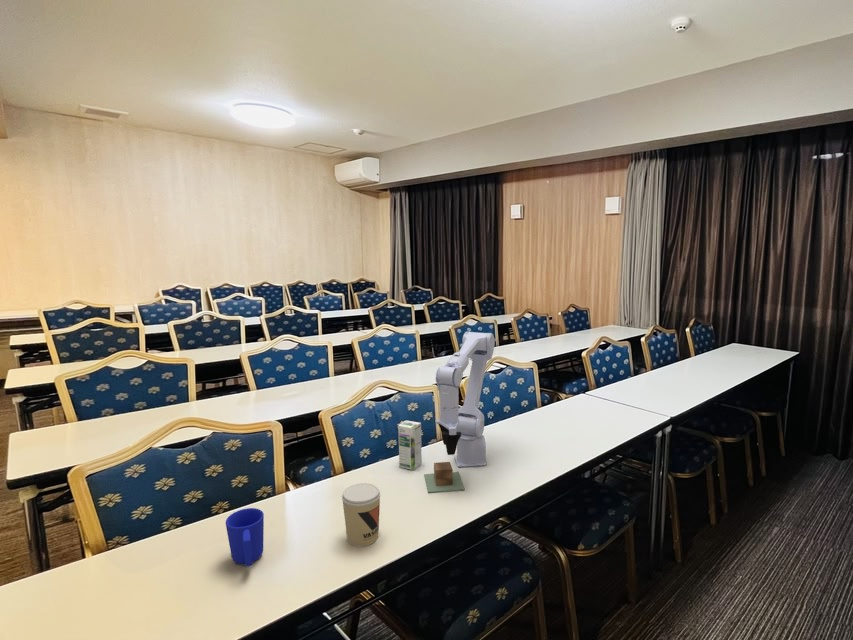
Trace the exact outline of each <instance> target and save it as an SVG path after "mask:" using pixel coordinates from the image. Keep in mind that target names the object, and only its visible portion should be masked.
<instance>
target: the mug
mask: <svg viewBox="0 0 853 640" xmlns="http://www.w3.org/2000/svg"><path fill="white" fill-rule="evenodd" d="M264 517H265V514H264V511H262V509H259V508H255V507H248V508H244V509H243V508H242V509H239V510H237V511H234V512H232V513H231V514H230V515H229V516H228V517H227V518H226V520H225V528H226V534H227V538H228V543H229V544H228V545H229V549H230V550H229V551H230V555H231V558H232V561H233V562H234V563H235V564H238V565H245V567H250V566H253V565H252V564H253V563H254V562H256V561H257V560H259V559H260V558H261V556H262V554H263V552H264V535H265V533H264V528H265V527H264V526H265V525H264V523H265V521H264V519H265V518H264Z"/></svg>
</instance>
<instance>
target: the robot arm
mask: <svg viewBox="0 0 853 640" xmlns="http://www.w3.org/2000/svg"><path fill="white" fill-rule="evenodd" d="M495 342H496V341H495V337H494V334H493V333H492V332H487V333H486V332H474V331H465V332H464V334H463V336H462V346H461V348H460V349H459V351H457V352H454V353H453V354H452V355H451V356H450V358H449V359H448V360H447V362H446V363H445V364H444V365H441V366H440V367H438V368H437V370H436V373H435V383H436V385H437V391H438V395H439V397H438V399H439V401H438V403H439V405H438V406H439V418H437V419H435V424H438V426H439V428H440V433H441V438H442V442H443V445H445V448H446V453H447V455H448V456H454V457H453V458H454V461H455V463H456V465H457V467H458V468H464V467H465V468H468V467H478V466H479V467H481V466H487V445H486V444H487V443H486V438H485V437H486V436H485V435H484V431H485V415H484V413H483V412H482V411H481V410H480V409H479V404H480V399H481V394H482V388H483V385H484V384H483V383H484V378H485V372H486V369H487V363H488V361H490V360H491V359H492V357H493V355H494V350H495V345H496V344H495ZM469 359H470V360H471V365H470V364H469V363H470V360H469ZM469 365H470V367H471V368H470V371H469V377H468V382H467V387H466V392H465V396H464V402H463V405H462V406H460V407H459V386H460V385H461V384H462V378H463V377H464V372H465V370H466V369H467V368H468V366H469ZM455 453H456V454H455Z"/></svg>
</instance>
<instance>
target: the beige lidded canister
mask: <svg viewBox="0 0 853 640" xmlns="http://www.w3.org/2000/svg"><path fill="white" fill-rule="evenodd" d="M380 498H381V491H380V489H379V487H377V485H375V484H372V483H367V482H359V483H355V484H351V485H349V486H348V487H346V488H345V489H344V490H343V492H342V494H341V500H342V507H343V515H344V522H345V523H344V525H345V530H346V538H347V542H348V543H349V544H351V545H352V546H355V547H366V546H369V545H372V544H374V543H375V542H376V541H377V539H378V538H379V534H380V533H379V531H380V529H379V528H380V507H381V506H380V504H381V499H380Z"/></svg>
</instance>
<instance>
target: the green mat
mask: <svg viewBox="0 0 853 640" xmlns="http://www.w3.org/2000/svg"><path fill="white" fill-rule="evenodd" d="M423 476H424V481H425V485H426V489H427V494H436V493H447V492H448V493H449V492H450V493H451V492H463V491H464V490H465V491H466V487H465V485H464V483H463V479H462V477H461V474H460V472H459V471H453V485H444V486H436V483H435V479H434V473H424V474H423ZM465 491H464V492H465Z"/></svg>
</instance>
